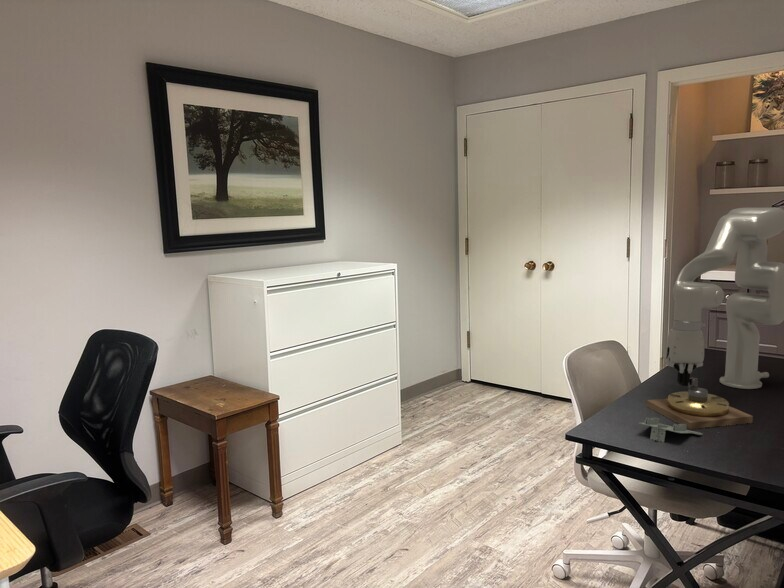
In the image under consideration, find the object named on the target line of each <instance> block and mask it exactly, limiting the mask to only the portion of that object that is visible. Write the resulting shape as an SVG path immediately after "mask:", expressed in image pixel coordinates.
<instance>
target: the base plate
mask: <svg viewBox="0 0 784 588" xmlns="http://www.w3.org/2000/svg"><path fill="white" fill-rule="evenodd" d="M645 406H646V408H648V409H651V410H652V411H653V412H655V413H658V414H659V415H662V416H663V415H664V416H663V417H666V418H668V419H669V420H671V421H673V422H675V423H677V424H678V425H679V424H686V425H687V428H686V429H687V430H690V431H692V430H698V428H701V429H706V428H705V427H710V428H716V427H715V426H720V427H727V426H728V425H729V426H736V424H738V425H747V423H748V424H753V421H754V420H753V418H754V416H753V415H751V414H749V413H746V412H744V411H741V410H739V409H737V408H736V407H732V406H730V405H729V408H728V413H726V414H724V415H721V416H697V415H690V414H686V413H682V412H679V411H676V410H674V409H672V408H670V407H669V406H668V397H667V398H657V399H647V400H646V405H645ZM726 425H727V426H726ZM729 426H728V427H729Z"/></svg>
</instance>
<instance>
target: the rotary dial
mask: <svg viewBox="0 0 784 588" xmlns="http://www.w3.org/2000/svg"><path fill="white" fill-rule="evenodd" d="M698 383H699V379H698V378H697V377H692V376H691V377H690V380H689V383H688V390H687V391H677V392H676V391H675V392H672V393H670V394H669V395H668V396H667V398H668V406H669V407H670V408H672V409H674V410H676V411H679V412H682V413H686V414H690V415H697V416H721V415H724V414H726V413H728V408H729V406H730V403H729V401H728V400H727V399H725V398H723V397H721V396H718V395H716V394H712V393H709V391H708V389H706V388H703V387H698V386H699V385H698Z"/></svg>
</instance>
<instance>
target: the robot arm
mask: <svg viewBox="0 0 784 588" xmlns="http://www.w3.org/2000/svg"><path fill="white" fill-rule="evenodd" d="M783 231H784V209H783V208H781V207H738V208H734V209H730V211H729V212H728V213H727V214H725V215H724V214H723V216H721V217H720V218H719V220H717V224H716V226H715V227H714V230H713V232H712V235H711V237H710V239H709V242H708V244H707V246H706V248H705V250H704V251H703V252H702V253H700V254H699V255H697V256H696V257H694V258H693V259H692V260H689V262H688V263H687V264H686V265H685V266H684V267H683V268H681V270H680V271H679V273H678V276H677V278H676V280H675V282H674V283H673V284H674V285H673V288H672V292H671V293H672V299H673V301H674V306H673V322H672V324H673V325H672V328H670V329H669V332H668V335H667V339H666V345H665V352H664V357H665V360H666V361H665V365H666V366H668V367H671V368H673V369H675V370H676V371H677V383H678V384H679V385H680V386H681V387H689V380H690V378H691V377H690V376H691V374H692V372H693V371H694V370H695V369H697V368H699V367H703V366H704V359H705V339H704V334H703V331H702V328H703V327H706V322H703V321H702V316H703V315H702V313H703V312H702V311H703V309H715V308H717V307H719V306H721V304H722V303H723V301H724V299H725V292H724V290H723V289H722V287H721V286H719V285H718V284H715V283H706V282H698V281H695V280H696V279H697V278H699V277H700V276H701V275H703V274H706V273H708V272H712V271H715V270H718V269H721V268H724V267H728V266H730V265H731V264H732V263H733V262H734V260H735V258H736V263H735V264H736V265H735V271H734V283H735V285H736V286H737V287H740V288H743V289H745V290H746V289H748V290H749V289H750V290H757V291H767V292H768V294H763V293H762V294H761V293H754V292H753V293H752V292H743V291H742V292H734V293H732V294H730V295H729V296H728V298H727V299H726V302H725V312H726V319H727V336H726V351H725V354H726V355H725V367H724V369H725V370H724V371H725V372H724V376H720V378H719V383H721V384H722V385H724V386H726V387H731V388H736V389H743V390H754V389H755V390H756V389H760V388H762V386H763V382H762V381H761V379H766V378H769V377H770V374H769V372H768V371H762V372H760V371H759V367H758V366H759V354H760V353H759V351H760V341H761V339H760V338H761V337H760V336H761V335H760V331H759V329H758V327H757V325H756V324H755V323H757V324H762V325H763V324H764V325H772V326H773V325H774V326H776V325H780V324H781V323H783V322H784V263H783V262H780V261H779V262H777V261H768V260H767V258H768V257H767V256H768V244H767V241H766V240H768V239H770V238H773V237H775V236H777V235H779V234H781V233H782V232H783Z"/></svg>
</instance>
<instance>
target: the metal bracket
mask: <svg viewBox="0 0 784 588" xmlns="http://www.w3.org/2000/svg"><path fill="white" fill-rule="evenodd" d="M638 424H639V425H643V426H644V425H645V426H648V427H651V429H650V430H651V431H650V435H649V436H650V437H649V440H653V441H655V440H656V441H655V442H660V443H665V438H666V433H667V432H666V431H669V432H673V433H677V434H693V435H694V434H695V435H698V436H703V435H704V433H703V432H702V433H701V432H699V431H692V430H690V429H688V428H687V425H686V424H679V423H677V424H676V423H674V424H673V426H671V425H667V424H663V423H660V418H659V417H651V418H650V417H646V418H645V420H644V421H643V422H638Z"/></svg>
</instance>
